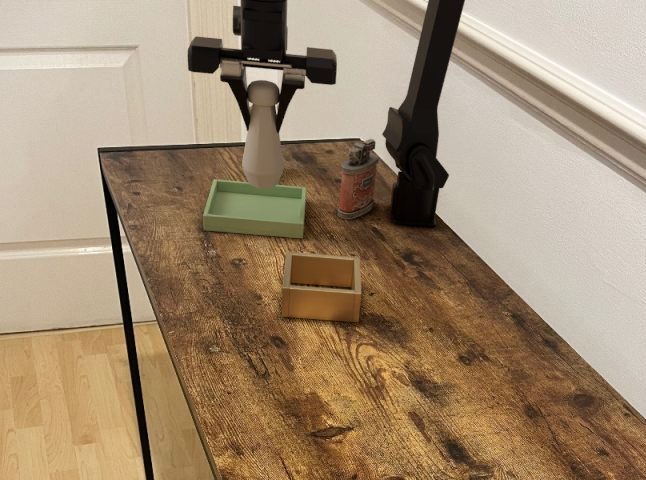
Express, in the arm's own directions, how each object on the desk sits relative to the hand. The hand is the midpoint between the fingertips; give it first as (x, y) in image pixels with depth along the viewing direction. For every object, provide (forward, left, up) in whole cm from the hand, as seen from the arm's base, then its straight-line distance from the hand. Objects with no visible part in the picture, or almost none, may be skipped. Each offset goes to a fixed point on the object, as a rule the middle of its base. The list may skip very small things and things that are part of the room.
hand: (263, 131), depth 106 cm
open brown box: (-9, +21, -13) cm, 27 cm away
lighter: (-14, -8, -13) cm, 21 cm away
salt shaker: (0, 0, -7) cm, 7 cm away
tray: (+1, -3, -13) cm, 13 cm away
